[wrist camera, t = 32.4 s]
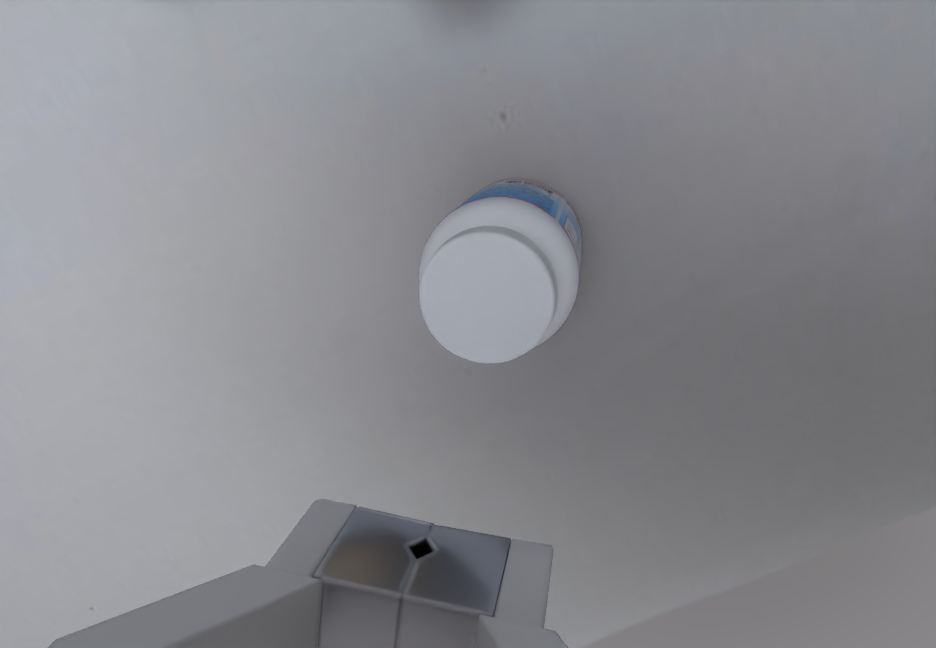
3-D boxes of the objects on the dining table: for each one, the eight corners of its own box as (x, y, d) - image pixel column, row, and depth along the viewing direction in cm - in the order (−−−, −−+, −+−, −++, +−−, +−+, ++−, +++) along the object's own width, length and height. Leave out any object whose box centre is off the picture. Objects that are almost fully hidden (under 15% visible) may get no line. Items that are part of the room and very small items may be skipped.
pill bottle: (430, 247, 37) (361, 304, 26) (513, 149, 35) (474, 169, 25) (523, 329, 38) (492, 418, 27) (611, 237, 36) (614, 294, 25)
